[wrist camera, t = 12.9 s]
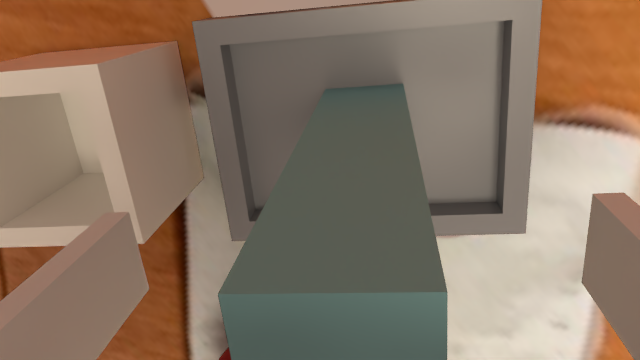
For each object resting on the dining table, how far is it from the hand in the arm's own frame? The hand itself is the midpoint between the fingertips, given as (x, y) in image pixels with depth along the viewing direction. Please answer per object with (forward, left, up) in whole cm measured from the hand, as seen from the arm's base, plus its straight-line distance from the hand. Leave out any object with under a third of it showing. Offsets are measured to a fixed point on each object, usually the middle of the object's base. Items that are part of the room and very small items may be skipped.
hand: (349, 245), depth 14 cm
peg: (0, 0, -13) cm, 13 cm away
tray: (0, 0, -14) cm, 14 cm away
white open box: (-14, +1, -14) cm, 20 cm away
